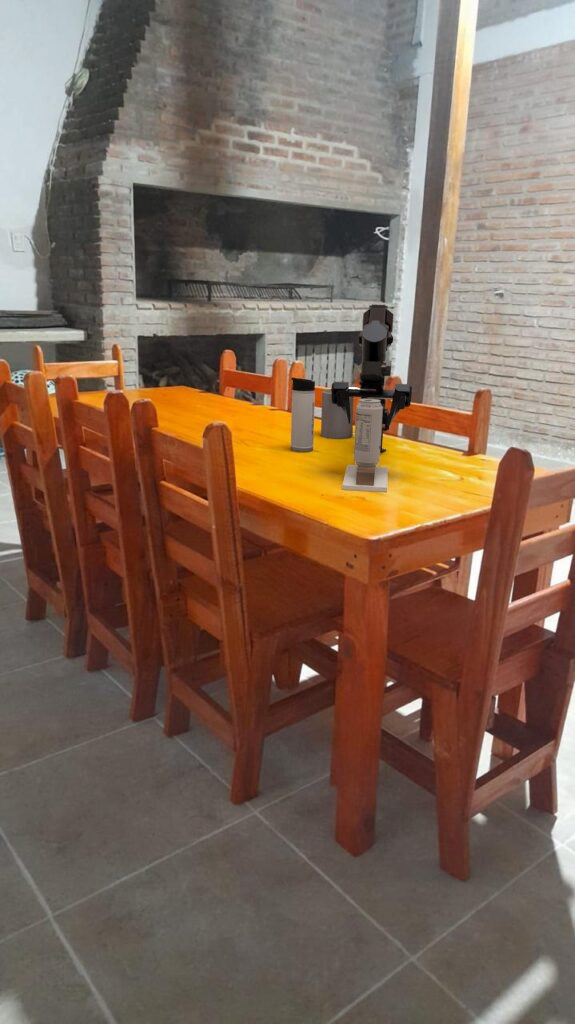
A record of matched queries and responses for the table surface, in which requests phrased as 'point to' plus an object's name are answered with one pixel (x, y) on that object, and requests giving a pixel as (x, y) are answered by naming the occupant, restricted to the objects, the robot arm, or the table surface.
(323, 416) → the pillar candle
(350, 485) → the ridge base plate
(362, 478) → the walnut ridge
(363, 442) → the energy drink can
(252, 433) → the table surface
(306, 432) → the travel mug
